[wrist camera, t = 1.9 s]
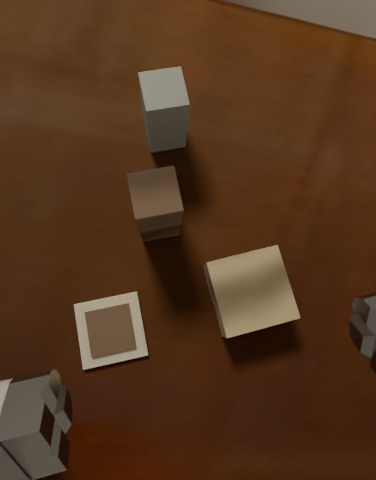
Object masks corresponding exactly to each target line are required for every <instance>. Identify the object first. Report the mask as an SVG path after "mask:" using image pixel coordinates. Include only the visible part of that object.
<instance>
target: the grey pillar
mask: <svg viewBox="0 0 376 480" xmlns="http://www.w3.org/2000/svg"><path fill="white" fill-rule="evenodd" d="M138 76H139V84H140V92H141V100H142V108H143V116H144V123H145V128H146V132H147V137H148V142H149V147H150V152H151V153H152V152H158V151H164V150H170V149H176V148H182V147H185V146H186V136H187V126H188V117H189V107H190V103H189V99H188V95H187V91H186V86H185V82H184V78H183V73H182V69H181V66H180V67H173V68H166V69H159V70H152V71H145V72H138Z"/></svg>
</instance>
